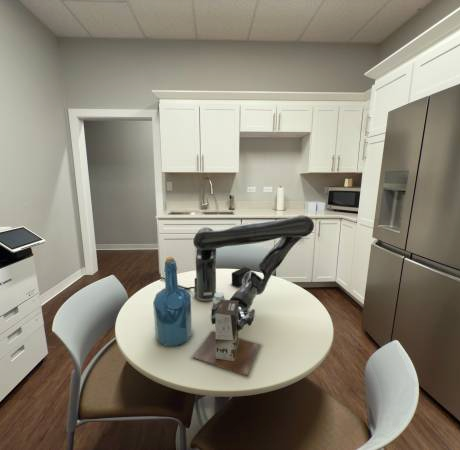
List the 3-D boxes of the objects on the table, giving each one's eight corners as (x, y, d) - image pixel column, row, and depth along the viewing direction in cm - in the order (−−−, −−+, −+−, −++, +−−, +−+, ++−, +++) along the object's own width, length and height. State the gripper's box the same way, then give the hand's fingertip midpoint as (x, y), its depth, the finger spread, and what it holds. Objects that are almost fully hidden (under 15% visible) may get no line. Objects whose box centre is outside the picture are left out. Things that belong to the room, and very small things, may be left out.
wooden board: (193, 358, 80) (193, 356, 80) (212, 332, 92) (212, 331, 92) (247, 376, 73) (247, 374, 73) (259, 345, 85) (259, 344, 85)
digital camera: (239, 288, 126) (239, 275, 125) (231, 285, 130) (231, 272, 129) (251, 281, 134) (252, 269, 132) (244, 278, 137) (244, 266, 136)
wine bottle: (153, 328, 95) (148, 254, 88) (187, 321, 99) (184, 249, 93) (158, 352, 82) (152, 267, 76) (197, 342, 87) (194, 262, 80)
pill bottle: (212, 312, 105) (212, 291, 103) (225, 311, 106) (224, 290, 104) (213, 319, 100) (212, 298, 98) (226, 319, 101) (226, 297, 98)
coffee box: (235, 362, 78) (235, 315, 74) (215, 358, 79) (214, 313, 75) (239, 342, 86) (239, 300, 83) (221, 340, 88) (220, 298, 84)
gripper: (224, 287, 95) (204, 309, 80) (260, 295, 89) (246, 319, 75) (224, 305, 97) (205, 329, 82) (260, 314, 91) (246, 341, 76)
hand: (225, 325), depth 78 cm, fingers open, 8 cm apart
